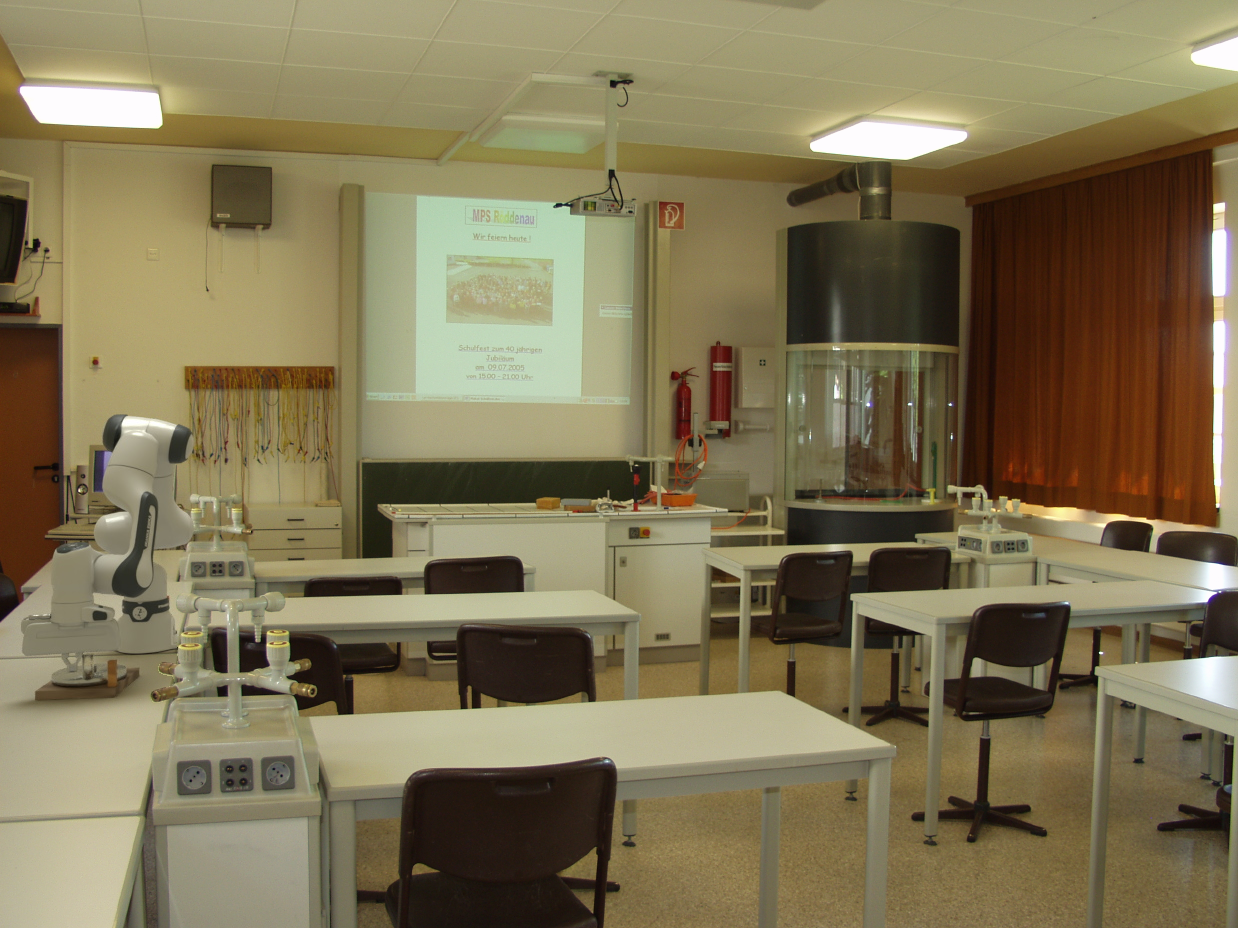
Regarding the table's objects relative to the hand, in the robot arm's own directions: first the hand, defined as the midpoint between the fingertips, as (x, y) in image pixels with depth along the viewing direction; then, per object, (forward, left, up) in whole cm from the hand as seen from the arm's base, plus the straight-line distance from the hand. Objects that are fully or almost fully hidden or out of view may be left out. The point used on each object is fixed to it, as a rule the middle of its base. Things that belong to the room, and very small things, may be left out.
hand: (72, 671), depth 235 cm
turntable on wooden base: (-8, +1, -6) cm, 10 cm away
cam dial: (-7, +1, -3) cm, 8 cm away
